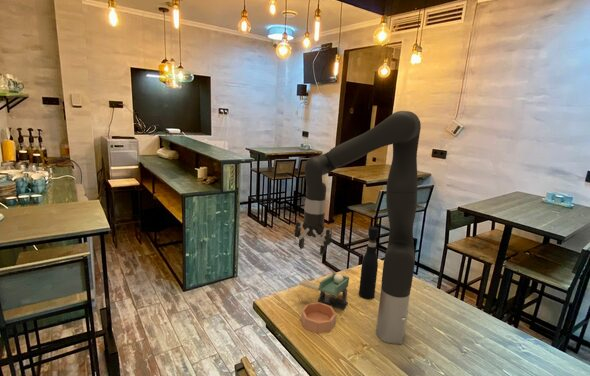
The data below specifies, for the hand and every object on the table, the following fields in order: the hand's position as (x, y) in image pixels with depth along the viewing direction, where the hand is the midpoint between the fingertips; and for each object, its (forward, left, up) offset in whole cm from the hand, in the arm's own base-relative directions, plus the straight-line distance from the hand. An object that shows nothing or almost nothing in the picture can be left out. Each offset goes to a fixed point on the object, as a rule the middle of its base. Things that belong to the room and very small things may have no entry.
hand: (311, 251), depth 120 cm
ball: (-8, -11, -14) cm, 19 cm away
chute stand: (-8, -6, -22) cm, 25 cm away
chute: (-4, -5, -18) cm, 19 cm away
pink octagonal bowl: (-8, +8, -22) cm, 25 cm away
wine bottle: (-18, -19, -23) cm, 35 cm away
